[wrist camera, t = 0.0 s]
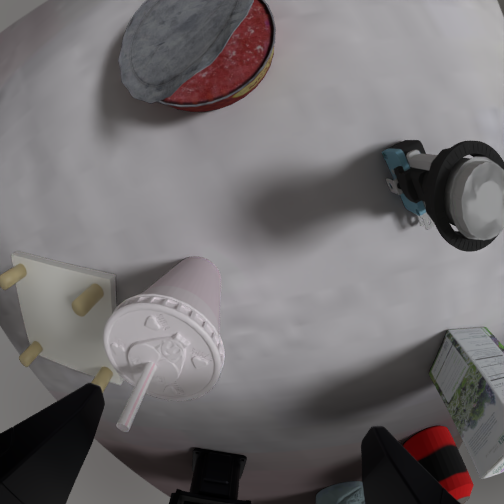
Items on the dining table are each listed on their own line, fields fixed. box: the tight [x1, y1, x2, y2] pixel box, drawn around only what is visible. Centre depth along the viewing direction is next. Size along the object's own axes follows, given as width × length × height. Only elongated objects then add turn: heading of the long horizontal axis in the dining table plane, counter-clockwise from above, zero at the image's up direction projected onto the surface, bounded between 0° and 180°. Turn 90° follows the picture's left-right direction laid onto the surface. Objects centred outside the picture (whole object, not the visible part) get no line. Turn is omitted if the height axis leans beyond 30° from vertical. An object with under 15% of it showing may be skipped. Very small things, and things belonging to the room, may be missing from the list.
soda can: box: [403, 426, 473, 504], centre depth 24 cm, size 8×8×12 cm
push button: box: [382, 140, 504, 251], centre depth 15 cm, size 7×5×10 cm
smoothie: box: [103, 256, 225, 432], centre depth 16 cm, size 6×6×14 cm
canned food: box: [118, 0, 276, 112], centre depth 15 cm, size 11×10×10 cm
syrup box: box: [429, 327, 504, 479], centre depth 18 cm, size 6×6×14 cm
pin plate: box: [0, 251, 124, 393], centre depth 23 cm, size 12×12×4 cm
